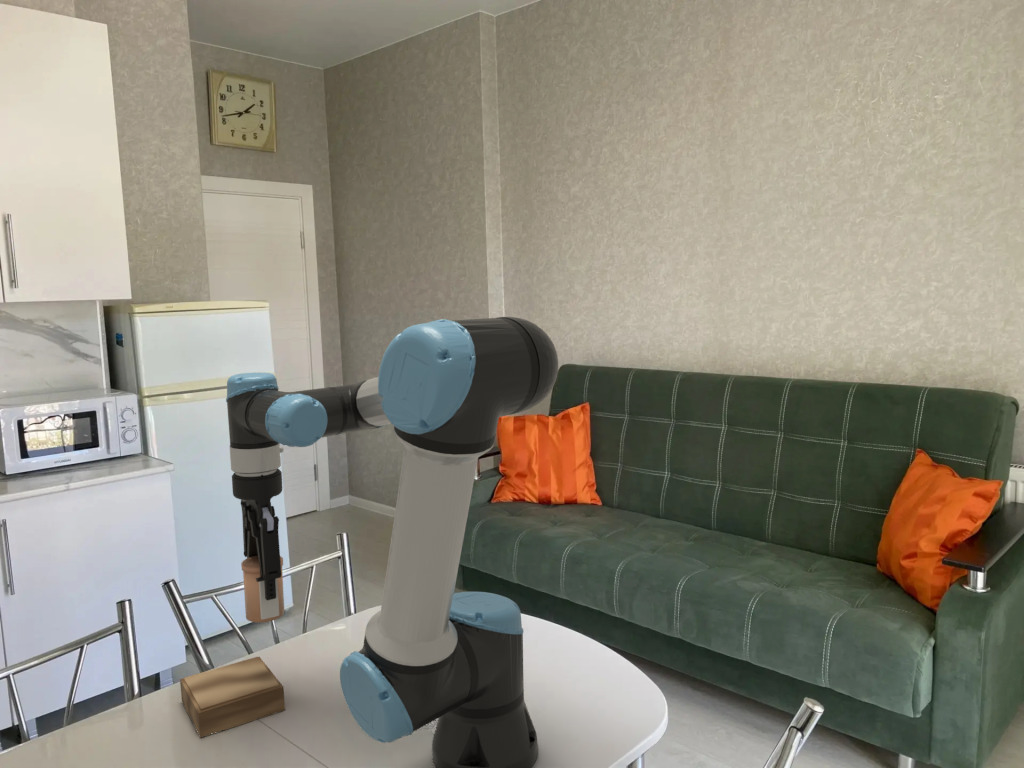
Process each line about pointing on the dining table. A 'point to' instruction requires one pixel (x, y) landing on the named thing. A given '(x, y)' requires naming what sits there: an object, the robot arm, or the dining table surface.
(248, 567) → the canister
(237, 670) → the stand
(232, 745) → the dining table surface
